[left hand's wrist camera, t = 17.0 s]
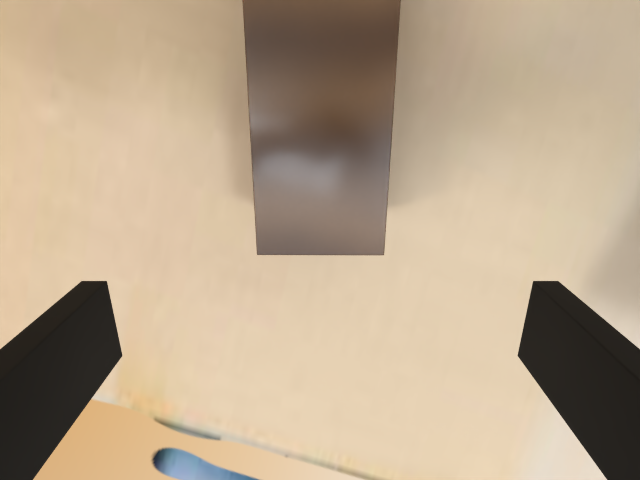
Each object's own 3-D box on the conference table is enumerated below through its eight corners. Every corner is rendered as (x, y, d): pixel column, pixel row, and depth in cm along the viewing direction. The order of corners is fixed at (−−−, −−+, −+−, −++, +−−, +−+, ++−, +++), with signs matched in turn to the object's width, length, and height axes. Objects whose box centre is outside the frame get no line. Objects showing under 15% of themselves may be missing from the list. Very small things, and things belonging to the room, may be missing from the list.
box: (368, 214, 36) (383, 255, 28) (271, 214, 36) (257, 255, 28) (385, -125, 28) (414, -217, 19) (258, -125, 28) (230, -218, 19)
